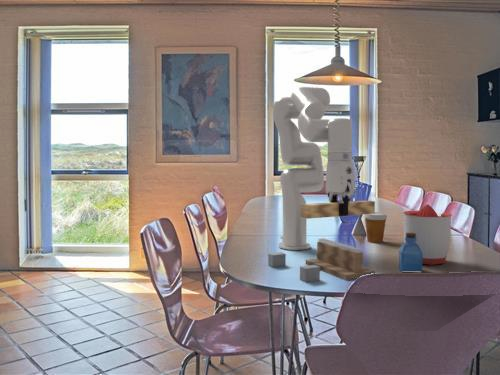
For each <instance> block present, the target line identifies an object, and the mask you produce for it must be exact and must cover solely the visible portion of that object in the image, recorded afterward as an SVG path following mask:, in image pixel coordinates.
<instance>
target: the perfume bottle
mask: <svg viewBox="0 0 500 375" xmlns="http://www.w3.org/2000/svg"><path fill="white" fill-rule="evenodd" d="M416 239H417V238H416V233H406V237H405V240H406V243H404V242H402V244H401V246H400V247H399V249H398V269H399V271H400V272H401V271H422V272H423V264H422V255H423V254H422V252H421V250H420V248H419V246H418V244H417V243H415V241H416Z"/></svg>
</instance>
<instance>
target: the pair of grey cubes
mask: <svg viewBox="0 0 500 375" xmlns="http://www.w3.org/2000/svg"><path fill="white" fill-rule="evenodd" d="M286 256H287V255H286V253H285V252H282V251H280V252H279V251H278V252H271V253H268V256H267V258H268V262H267V265H268V267H271V268H277V267H285V266H286V265H287V264H286V259H287V257H286ZM320 273H321V270H320V267H319V266H316V265H302V266H301V265H300V266H299V280H300V281H301V282H304V283H311V282H316V281H320V279H321V278H320V277H321V276H320V275H321V274H320Z"/></svg>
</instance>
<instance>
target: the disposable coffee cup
mask: <svg viewBox="0 0 500 375" xmlns="http://www.w3.org/2000/svg"><path fill="white" fill-rule="evenodd" d="M363 217H364V223H365V229H366V230H365V232H366V239H367V240H366V241H367V242H368V243H373V244H376V243H377V244H379V243H383V242H384V235H385V229H386V222H387V218H388V216H387V213H385V212H378V211H376V212H375V214H364V216H363Z"/></svg>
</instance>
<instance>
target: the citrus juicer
mask: <svg viewBox="0 0 500 375" xmlns="http://www.w3.org/2000/svg"><path fill="white" fill-rule="evenodd" d="M403 214H404V215H403V216H404V217H403V219H404V220H403V221H404V222H403V243H406V240H405V237H406V233H416V238H417V239H416V241H415V243H417V244H418V246H419V248H420V250H421V252H422V254H423V255H422V265H423V264H424V265H428V264H429V265H428V266H434V265H441V264H444V263H445V261H446V259H447V257H448V256H447V255H448V253H449V251H450V247H451V235H452V234H451V230H452V229H451V228H452V227H451V226H452V216H453V214H452V213H450V212H443V213H441V214H440V215H439V216H438V214H437V211H435V209H434V208H433V207H432V206H431V205H430V204H425V205H424V206H423V207H421V209H420V210H406V211H405V210H404V211H403Z"/></svg>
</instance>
